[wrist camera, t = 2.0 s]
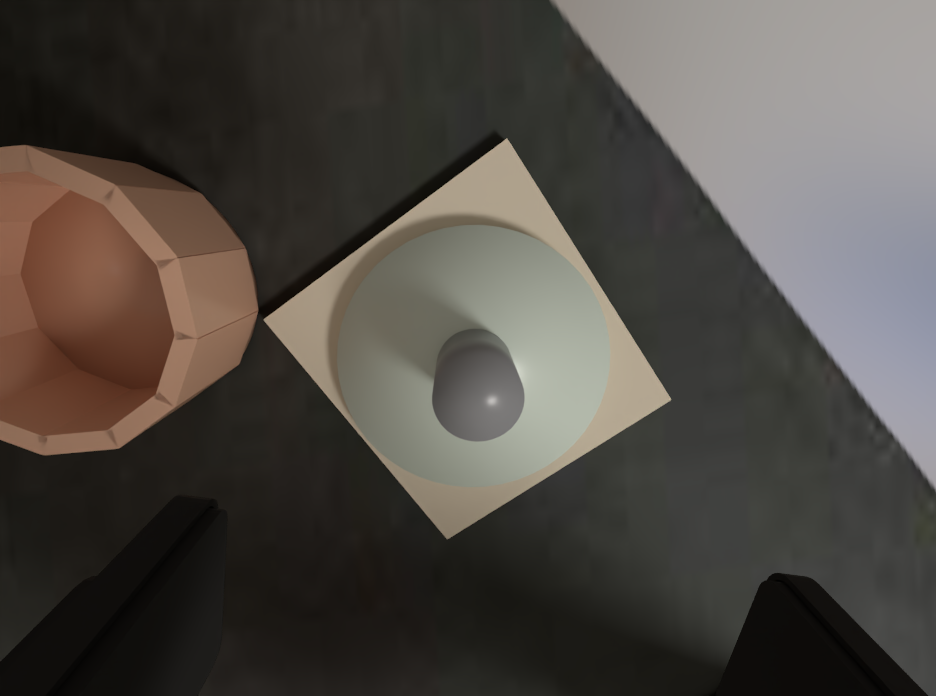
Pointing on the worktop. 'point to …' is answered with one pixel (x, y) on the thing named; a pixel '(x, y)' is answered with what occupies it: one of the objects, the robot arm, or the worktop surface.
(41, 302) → the bowl
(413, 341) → the lid
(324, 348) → the mat
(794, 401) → the worktop surface
